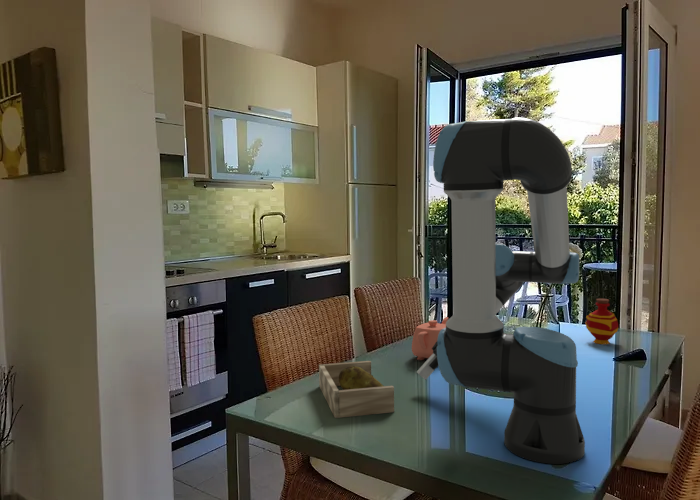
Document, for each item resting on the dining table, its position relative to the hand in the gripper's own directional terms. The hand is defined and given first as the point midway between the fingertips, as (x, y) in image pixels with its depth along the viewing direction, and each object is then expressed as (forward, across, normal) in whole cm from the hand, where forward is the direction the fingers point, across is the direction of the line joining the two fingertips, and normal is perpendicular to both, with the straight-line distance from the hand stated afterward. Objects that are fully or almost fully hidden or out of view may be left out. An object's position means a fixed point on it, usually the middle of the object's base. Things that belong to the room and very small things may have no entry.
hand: (421, 375), depth 140 cm
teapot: (-8, +29, -14) cm, 33 cm away
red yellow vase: (-52, +31, -57) cm, 83 cm away
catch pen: (+15, 0, +9) cm, 18 cm away
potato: (+15, -2, +8) cm, 17 cm away
